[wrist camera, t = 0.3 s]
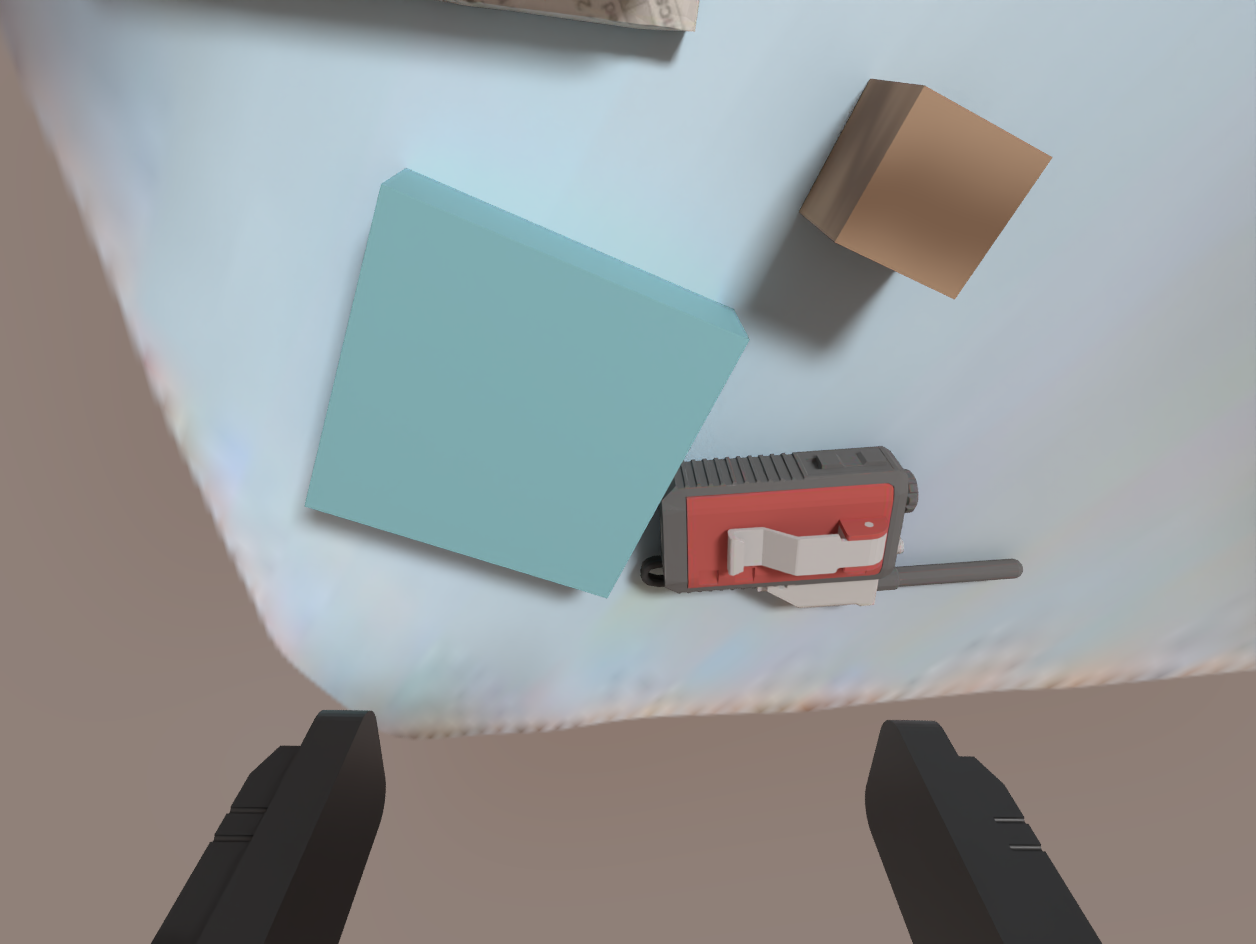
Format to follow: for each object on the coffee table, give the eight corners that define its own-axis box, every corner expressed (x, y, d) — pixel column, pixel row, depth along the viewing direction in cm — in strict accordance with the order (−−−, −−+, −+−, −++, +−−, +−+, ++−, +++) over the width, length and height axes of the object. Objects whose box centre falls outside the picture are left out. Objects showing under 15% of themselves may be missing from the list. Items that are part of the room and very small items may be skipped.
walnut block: (869, 78, 25) (924, 85, 21) (979, 138, 26) (1052, 157, 22) (798, 211, 27) (834, 242, 23) (901, 261, 29) (954, 299, 24)
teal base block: (409, 166, 26) (381, 183, 23) (732, 306, 30) (749, 339, 26) (334, 458, 33) (304, 506, 29) (606, 546, 36) (607, 598, 33)
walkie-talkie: (641, 593, 38) (1004, 567, 38) (646, 653, 34) (1048, 624, 34) (632, 455, 33) (1045, 426, 33) (636, 507, 30) (1101, 475, 30)
